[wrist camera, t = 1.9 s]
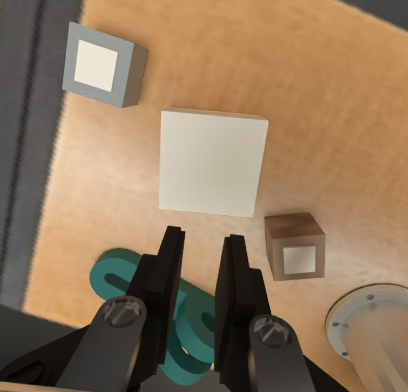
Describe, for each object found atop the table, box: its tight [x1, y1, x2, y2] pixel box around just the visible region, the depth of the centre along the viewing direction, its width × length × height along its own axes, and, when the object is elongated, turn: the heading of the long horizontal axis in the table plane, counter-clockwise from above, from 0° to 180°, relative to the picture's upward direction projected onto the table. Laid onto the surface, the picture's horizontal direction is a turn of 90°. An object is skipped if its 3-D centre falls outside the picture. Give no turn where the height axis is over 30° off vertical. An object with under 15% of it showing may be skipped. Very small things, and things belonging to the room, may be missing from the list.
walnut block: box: [264, 213, 325, 281], centre depth 30 cm, size 5×5×5 cm
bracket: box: [90, 248, 215, 385], centre depth 33 cm, size 18×7×8 cm, turn 56°
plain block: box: [159, 107, 269, 218], centre depth 27 cm, size 9×9×5 cm
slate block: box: [62, 22, 149, 108], centre depth 24 cm, size 5×5×5 cm
